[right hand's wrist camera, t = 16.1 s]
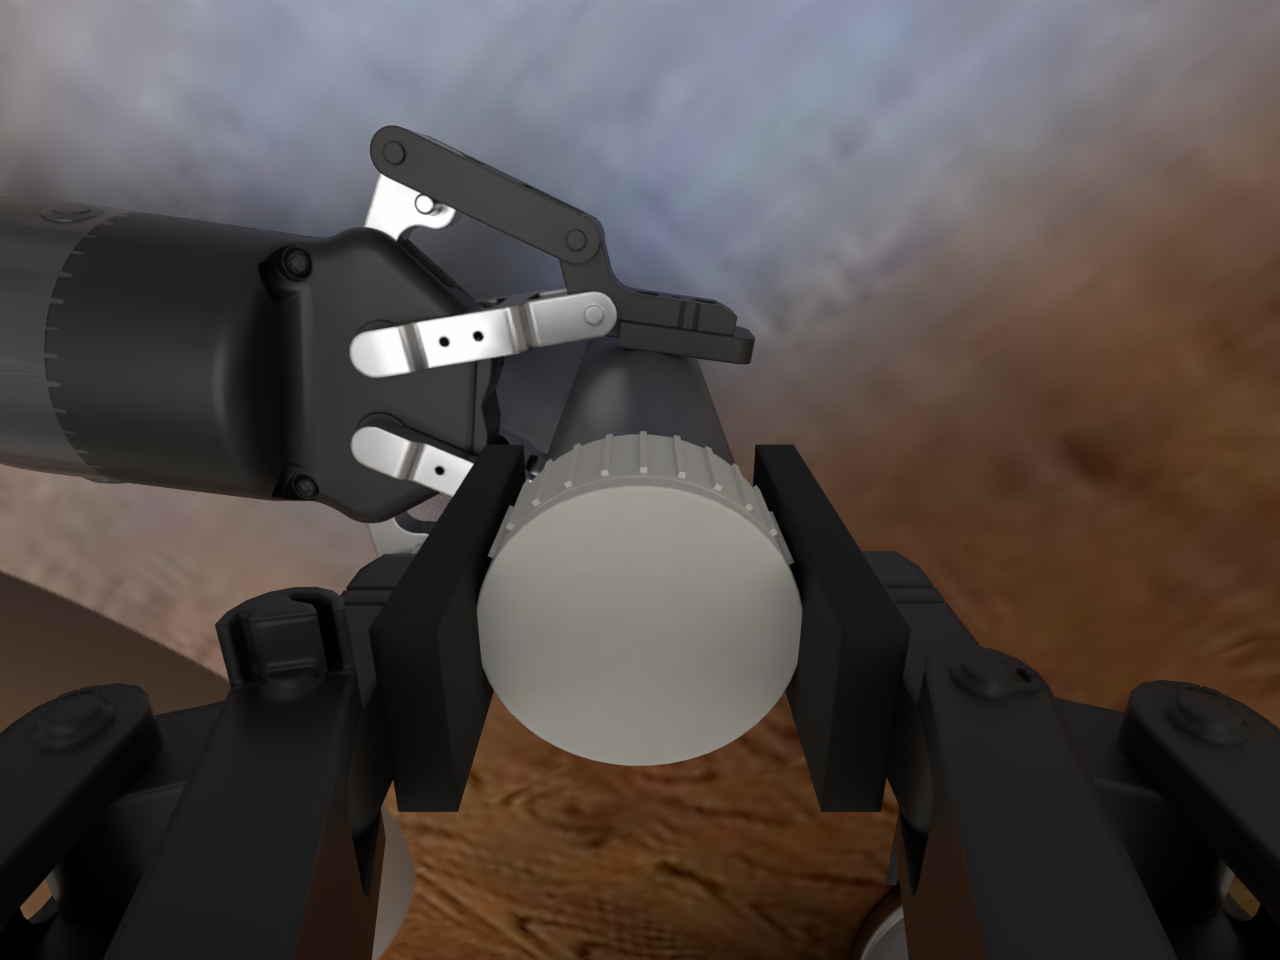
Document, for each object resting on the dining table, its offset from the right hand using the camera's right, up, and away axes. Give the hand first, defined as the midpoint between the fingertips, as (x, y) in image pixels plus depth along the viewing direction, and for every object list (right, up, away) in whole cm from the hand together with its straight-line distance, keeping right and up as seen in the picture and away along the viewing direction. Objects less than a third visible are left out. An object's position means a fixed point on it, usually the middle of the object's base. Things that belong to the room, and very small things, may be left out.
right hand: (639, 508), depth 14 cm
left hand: (+3, +2, +6) cm, 7 cm away
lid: (0, -2, -4) cm, 4 cm away
